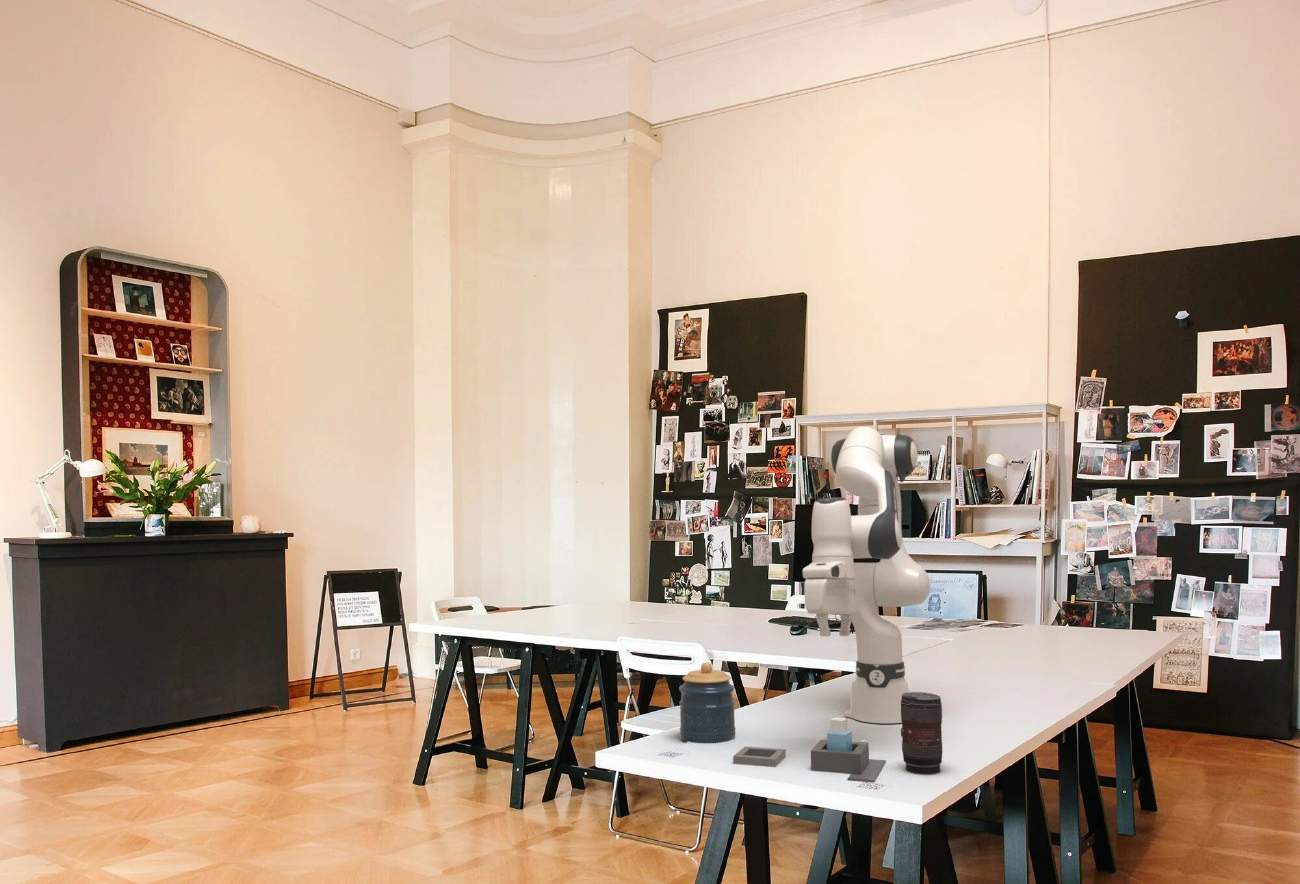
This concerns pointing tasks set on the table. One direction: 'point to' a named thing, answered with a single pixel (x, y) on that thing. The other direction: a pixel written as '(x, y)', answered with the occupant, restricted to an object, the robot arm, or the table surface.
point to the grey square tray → (759, 756)
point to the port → (847, 761)
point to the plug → (839, 736)
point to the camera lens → (921, 732)
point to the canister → (707, 706)
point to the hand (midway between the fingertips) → (835, 636)
